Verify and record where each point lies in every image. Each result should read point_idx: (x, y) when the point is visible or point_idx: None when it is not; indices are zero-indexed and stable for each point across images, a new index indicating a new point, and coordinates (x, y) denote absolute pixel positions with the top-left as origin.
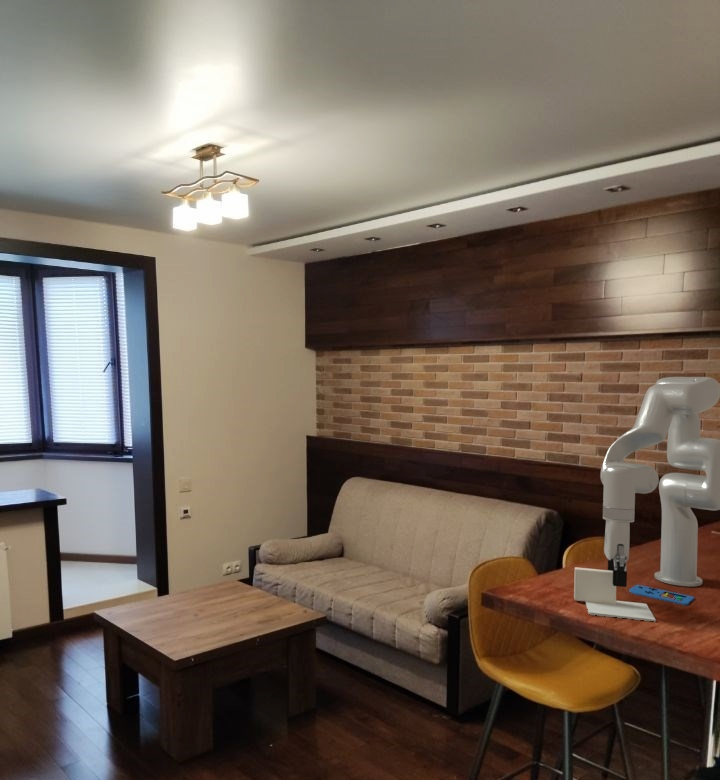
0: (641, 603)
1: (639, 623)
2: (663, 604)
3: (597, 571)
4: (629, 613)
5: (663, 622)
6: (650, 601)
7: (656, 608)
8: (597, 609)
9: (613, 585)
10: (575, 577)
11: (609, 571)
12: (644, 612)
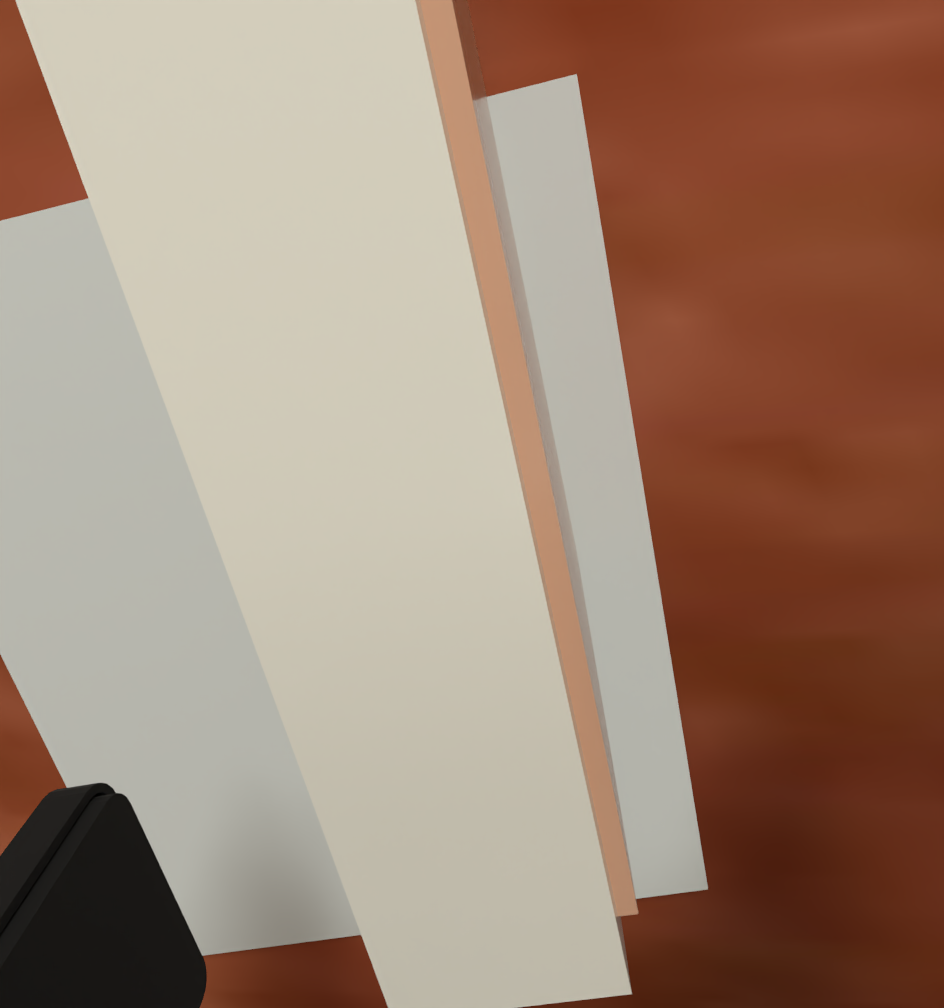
0: (688, 846)
1: (8, 815)
2: (865, 1003)
3: (215, 522)
4: (172, 744)
5: (215, 990)
6: (930, 900)
7: (668, 947)
8: (40, 370)
9: (61, 792)
10: None
11: (454, 861)
12: (333, 875)
